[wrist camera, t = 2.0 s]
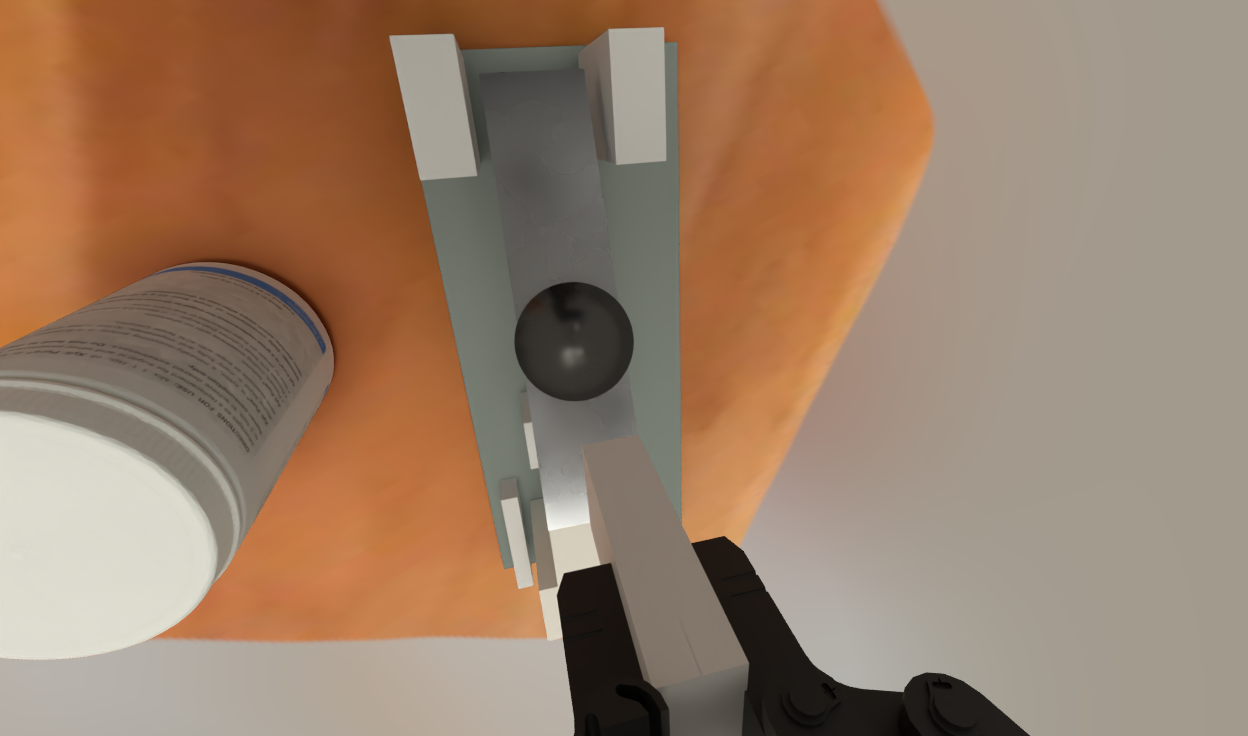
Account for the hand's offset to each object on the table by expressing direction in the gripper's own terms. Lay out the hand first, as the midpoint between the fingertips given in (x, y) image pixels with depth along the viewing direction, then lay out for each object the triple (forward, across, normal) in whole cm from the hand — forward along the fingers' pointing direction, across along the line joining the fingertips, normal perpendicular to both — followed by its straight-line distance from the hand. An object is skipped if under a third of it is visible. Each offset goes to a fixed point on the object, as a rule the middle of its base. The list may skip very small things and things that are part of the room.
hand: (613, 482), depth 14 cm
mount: (+18, +1, -4) cm, 19 cm away
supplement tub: (+19, -16, -1) cm, 25 cm away
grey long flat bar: (+10, 0, +2) cm, 10 cm away
